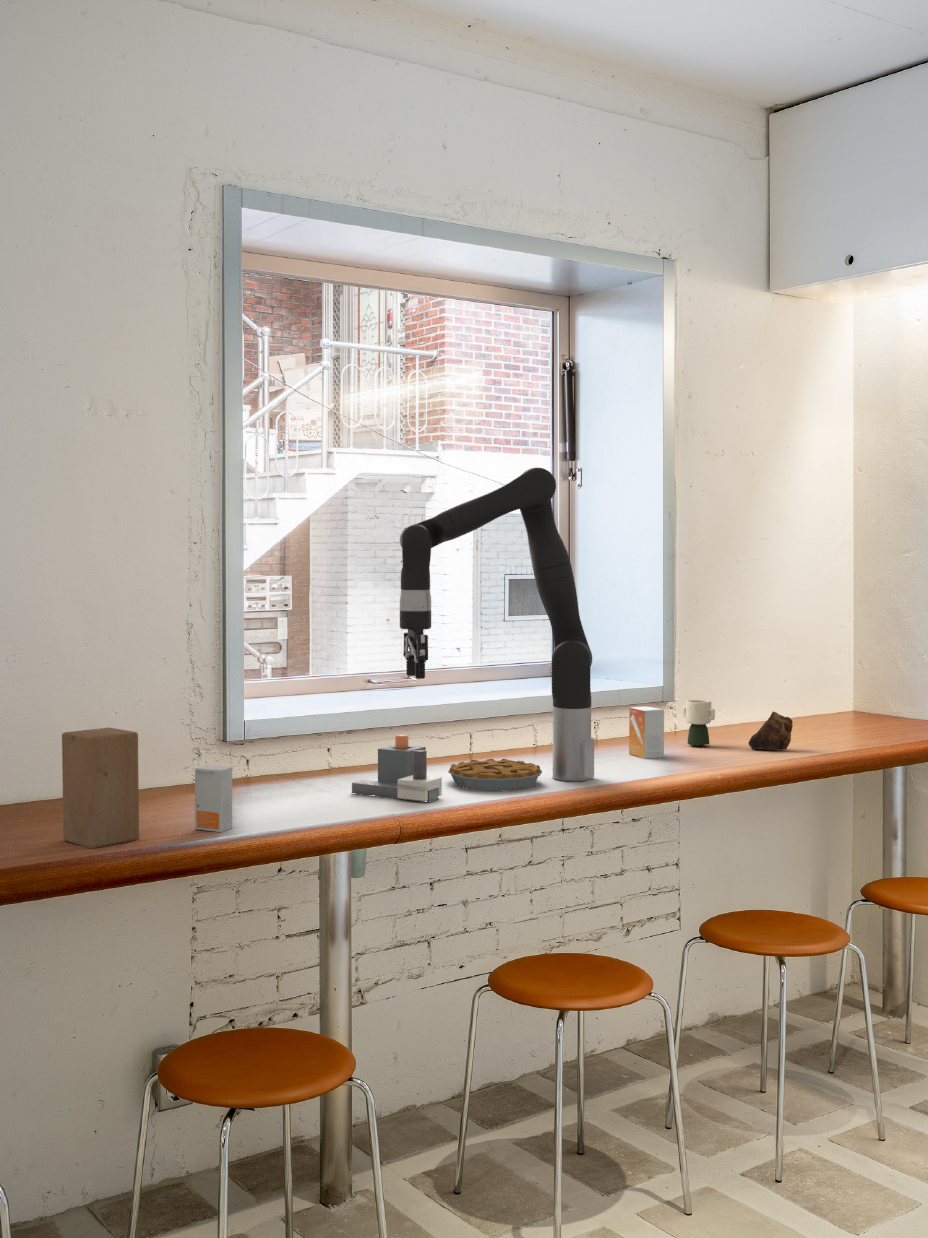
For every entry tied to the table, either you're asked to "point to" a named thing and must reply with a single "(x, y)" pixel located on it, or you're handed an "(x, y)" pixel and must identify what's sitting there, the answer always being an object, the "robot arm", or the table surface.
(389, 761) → the grey cube-like block
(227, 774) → the skincare box
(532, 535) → the robot arm
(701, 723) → the character mug
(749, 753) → the table surface
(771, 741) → the decorative rock
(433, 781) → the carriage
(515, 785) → the pie
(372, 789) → the rail
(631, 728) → the small box
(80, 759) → the wooden block
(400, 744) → the button
